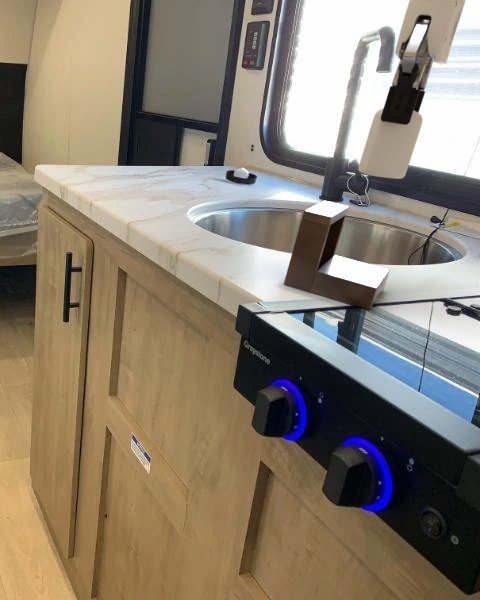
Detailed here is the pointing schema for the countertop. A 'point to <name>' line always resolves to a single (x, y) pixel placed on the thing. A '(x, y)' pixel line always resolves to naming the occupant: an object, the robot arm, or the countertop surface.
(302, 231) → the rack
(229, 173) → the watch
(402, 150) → the eye dropper bottle
